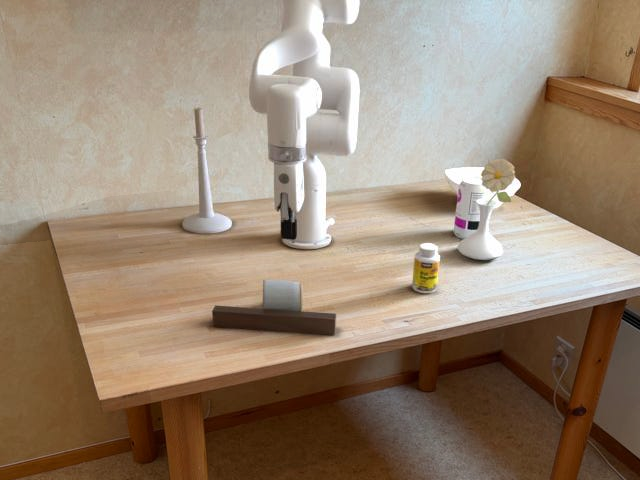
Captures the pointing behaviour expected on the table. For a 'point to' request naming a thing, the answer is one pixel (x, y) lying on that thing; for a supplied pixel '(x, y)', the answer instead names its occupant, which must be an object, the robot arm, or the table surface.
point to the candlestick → (204, 190)
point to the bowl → (458, 174)
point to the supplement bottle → (426, 268)
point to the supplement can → (468, 206)
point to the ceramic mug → (282, 295)
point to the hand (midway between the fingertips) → (289, 237)
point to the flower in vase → (488, 211)
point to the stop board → (274, 320)
